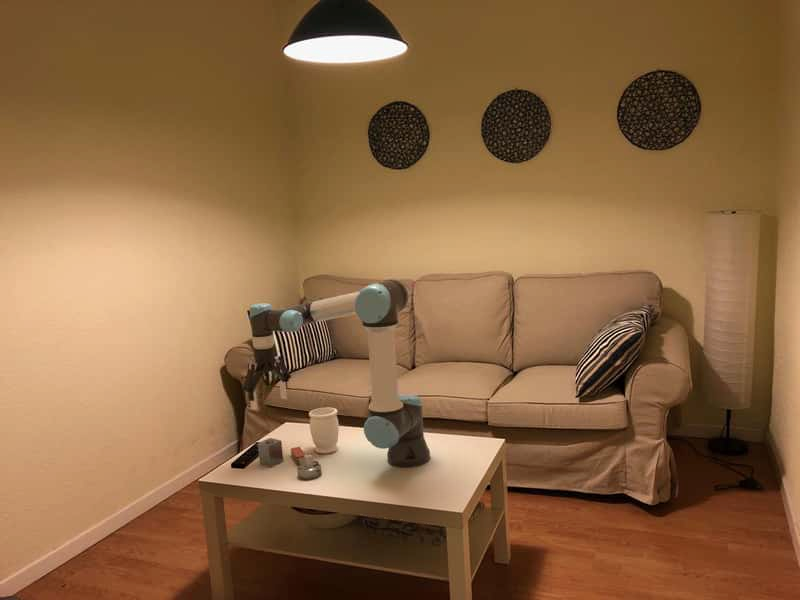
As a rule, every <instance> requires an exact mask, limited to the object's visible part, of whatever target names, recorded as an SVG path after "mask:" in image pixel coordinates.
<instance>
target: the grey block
mask: <svg viewBox="0 0 800 600" xmlns="http://www.w3.org/2000/svg"><path fill="white" fill-rule="evenodd" d="M257 449H258V450H257V451H258V460H259V464H260V465H261V466H265V467H268V468H273V467H275V466H277V465H279V464H282V463H284V453H283V452H284V451H283V444H282V440H281V439H278V438H272V437H269V438H266V439H264V440H262V441H260V442H257Z"/></svg>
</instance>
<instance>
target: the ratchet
mask: <svg viewBox="0 0 800 600" xmlns="http://www.w3.org/2000/svg"><path fill="white" fill-rule="evenodd" d="M290 453H291V457H292V459H293V460H294V462H295V463H296V465H298V467H297V477H298V479H299V480H301V481H306V482H307V481H313V480H317V479H319V478H320V477H322V475H323V474H322V472H323V471H322V465H321V464H320V463H319V461H318V460H314V459H313V455H312V454H305V451H303V449H302V447H301V446H296V447H291V448H290Z"/></svg>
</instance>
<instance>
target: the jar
mask: <svg viewBox="0 0 800 600" xmlns="http://www.w3.org/2000/svg"><path fill="white" fill-rule="evenodd" d="M337 414H338V409H337V408H336V407H335V408H334V407H319V408H315V409H313V410H310V411H309V412H308V416H309V418H310V419H309V430H310V435H311V439H312V441H313V444H314V446H315V449H314V450H315V452H316V453H317V454H325V455H326V454H331V453H334V452H336V451H337V450H338V449H339V447H338V445H337V443H338V440H339V434H340V433H339V431H340V427H339V426H340V425H339V419H338V416H337Z"/></svg>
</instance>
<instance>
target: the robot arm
mask: <svg viewBox="0 0 800 600" xmlns="http://www.w3.org/2000/svg"><path fill="white" fill-rule="evenodd" d="M409 297H410V296H409V291H408V288H407V287H406V286H405V284H404V283H403V282H401V281H399V280H397V279H385V280H382V281H380V282H376V283H371V284H368V285H367V286H365V287H364V288H362V289H360V291H356V292H352V293H345V294H342V295H337V296H333V297H329V298H324V299H319V300H316V301H315V300H314V301H308V302H304V303H301V304H298V305H295V306H292V307H288V308H285V309H272V305H271V304H270V303H267V302H266V303H265V302H264V303H263V302H262V303H253V304H252V305H250V307H249V319H250V320H249V321H250V327H251V338H252V346H253V356H254V359H255V360H254V361H255V362H254V363H248V364H247V372H246V376H245V379H244V382H243V386H242V391H243V392H247V397H248V401H249V402H250V409H251V410H255V411H257V410H258V408H259V407H258V400H257V391H255V389H256V388H257V385H258V384H259V381H260V380H261V378H262V376H263V375H264V374H267V373H268V372H273V374H274V375H275V376H276V377H277V378H278V379H279V380H280V381H279V382H278V383H279V392H280V399H283V400H288V393H287V390H288V382H289V381H290V379H292V375H291V373H290V371H289V369H288V368H287V367H286V365H285V362H284V358H283V356H282V355H276V347H275V346H274V345H275V338H274V332H280V333H281V332H282V333H295V332H298V331H300V330H301V328H302V327H303V326H306V325H309V324H313V323H314V324H315V323H318V322H323V321H328V320H329V321H330V320H333V319H338V318H343V317H349V316H354V315H357V317H359V319H360V320H361V323H362V324H361V325H362V328H364V329H365V330H366V331H367V340H368V342H367V343H368V352H369V356H368V357H369V370H370V383H371V384H370V385H371V397H372V399H371V400H372V401H371V403H369V405H368V408H367V409H368V418H367V419H366V421H365V422H364V425H363V433H364V437H365V438H366V439H367V441H368V442H369V443H370V444H371V445H372V446H374V447H375V448H378V449H384V450H385V449H387V455H386V458H387V463H388V464H390V465H391V466H393V467H394V466H395V467H399V468H400V467H401V468H411V467H417V466H421V465H423V464H426V463H428V462H429V461H430V460H431V452H430V448H429V447H428V445H427V444H428V443H427V442H426V439H425V436H424V435H425V434H424V423H423V422H424V420H423V404H422V399H421V397H419V395H416V394H411V393H410V394H409V393H408V394H404V393H401V394H399V389H398V388H399V385H398V375H397V373H398V372H397V357H396V356H397V355H396V343H395V342H396V340H395V328H396V327H397V326H398V324H399V313H400V312H402V311H403V310H404V309H405V308H406V306H407V304H408V302H409ZM275 364H276V365H277V366H278V367H277V366H276V365H275ZM278 368H279V369H278Z"/></svg>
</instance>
